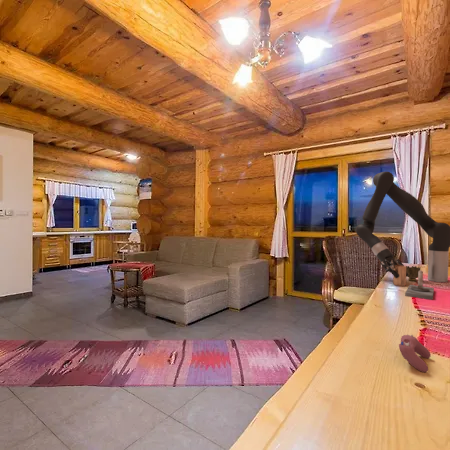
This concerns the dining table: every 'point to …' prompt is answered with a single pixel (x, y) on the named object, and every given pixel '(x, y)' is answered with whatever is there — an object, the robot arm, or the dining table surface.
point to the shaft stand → (420, 289)
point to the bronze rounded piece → (412, 272)
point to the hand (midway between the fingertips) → (402, 276)
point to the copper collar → (400, 275)
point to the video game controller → (408, 352)
